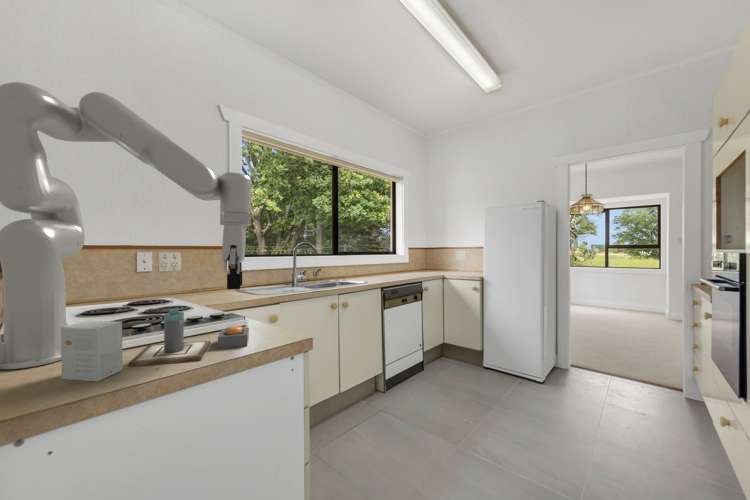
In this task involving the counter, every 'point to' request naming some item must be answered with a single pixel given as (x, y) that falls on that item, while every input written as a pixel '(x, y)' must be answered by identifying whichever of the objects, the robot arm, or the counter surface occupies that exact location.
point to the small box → (91, 350)
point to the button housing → (233, 339)
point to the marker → (173, 331)
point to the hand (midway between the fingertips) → (234, 286)
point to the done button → (234, 330)
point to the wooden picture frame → (170, 354)
